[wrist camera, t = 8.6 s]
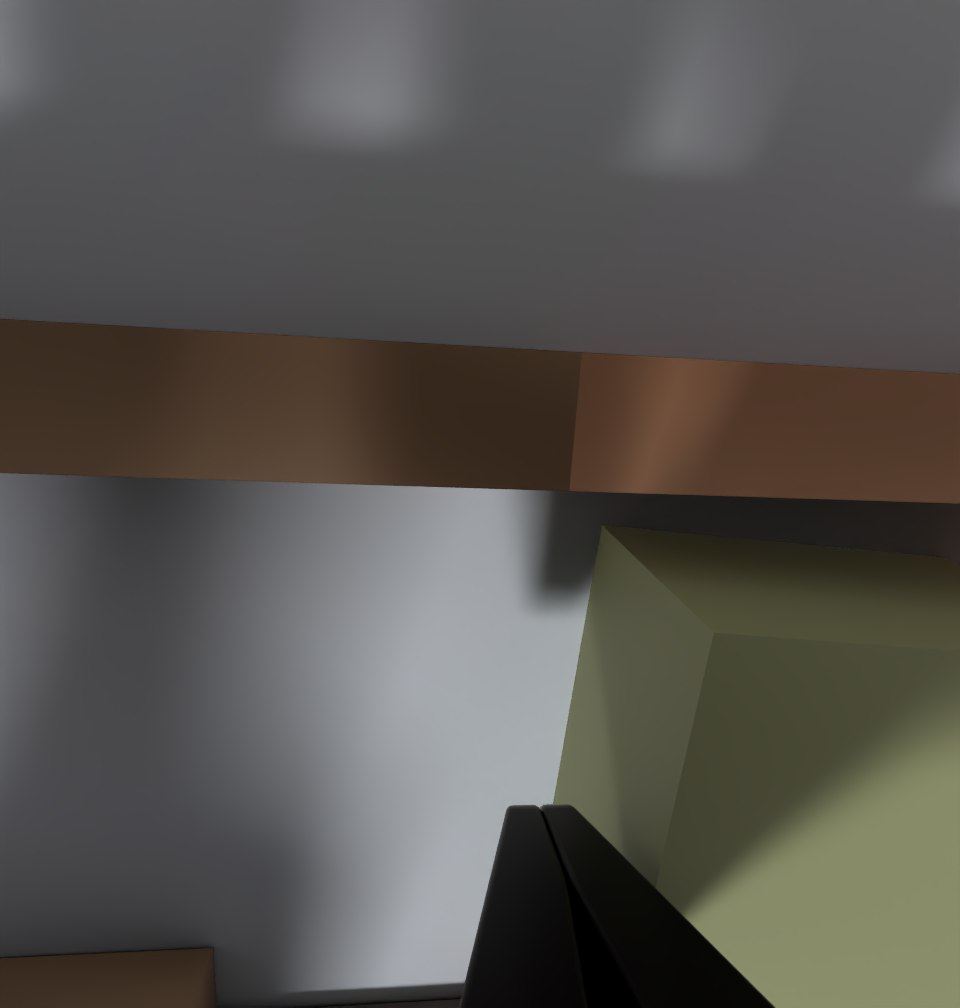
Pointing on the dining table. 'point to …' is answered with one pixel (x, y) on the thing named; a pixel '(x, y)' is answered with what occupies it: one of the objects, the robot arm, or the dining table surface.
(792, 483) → the walled lane
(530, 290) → the dining table surface
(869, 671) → the olive block
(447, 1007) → the trap pit
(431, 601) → the dining table surface
